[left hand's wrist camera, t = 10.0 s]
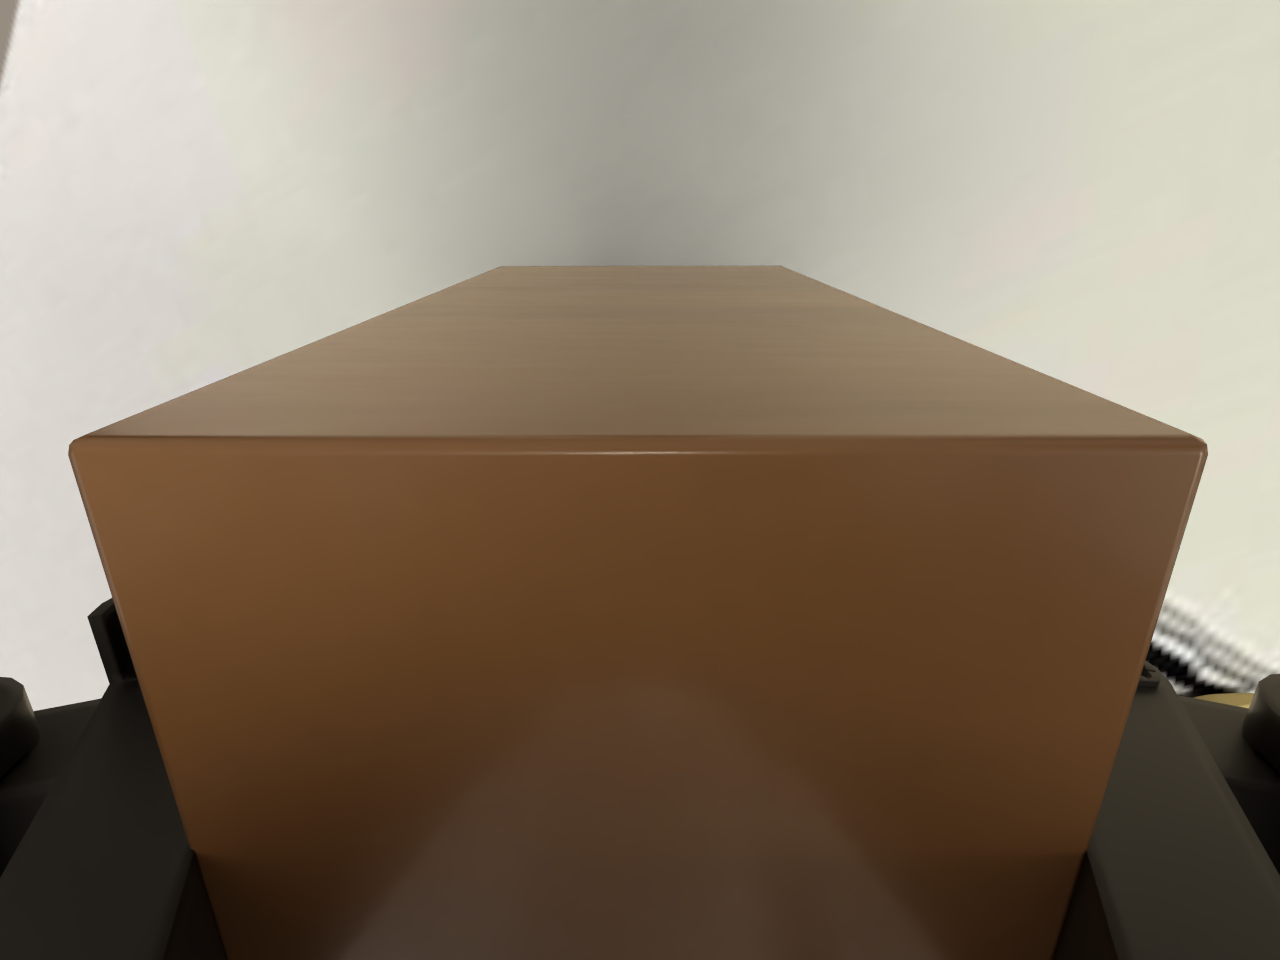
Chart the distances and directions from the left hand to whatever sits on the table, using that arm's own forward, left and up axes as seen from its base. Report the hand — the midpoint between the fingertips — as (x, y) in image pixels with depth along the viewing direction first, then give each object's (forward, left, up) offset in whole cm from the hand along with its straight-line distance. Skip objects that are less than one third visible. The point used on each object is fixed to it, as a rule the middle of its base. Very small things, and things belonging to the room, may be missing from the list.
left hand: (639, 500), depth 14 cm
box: (+7, +4, -4) cm, 9 cm away
